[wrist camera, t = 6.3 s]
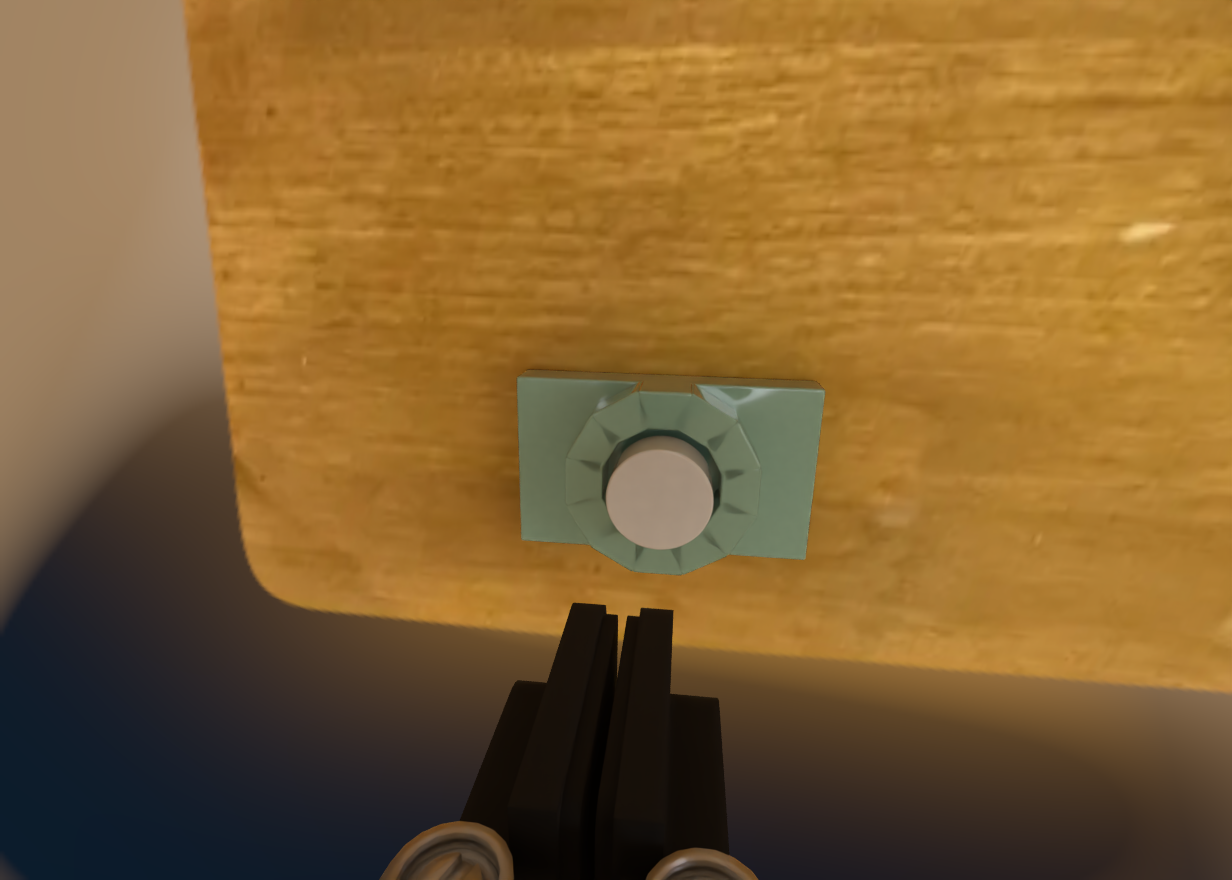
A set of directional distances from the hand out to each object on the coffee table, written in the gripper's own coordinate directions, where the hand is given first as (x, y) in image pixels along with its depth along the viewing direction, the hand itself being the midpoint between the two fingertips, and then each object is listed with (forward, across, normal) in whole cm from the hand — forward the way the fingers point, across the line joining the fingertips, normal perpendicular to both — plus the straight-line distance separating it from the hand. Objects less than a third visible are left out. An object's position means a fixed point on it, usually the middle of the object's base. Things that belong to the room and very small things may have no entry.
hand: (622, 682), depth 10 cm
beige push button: (+10, 0, 0) cm, 10 cm away
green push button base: (+13, 0, 0) cm, 13 cm away
